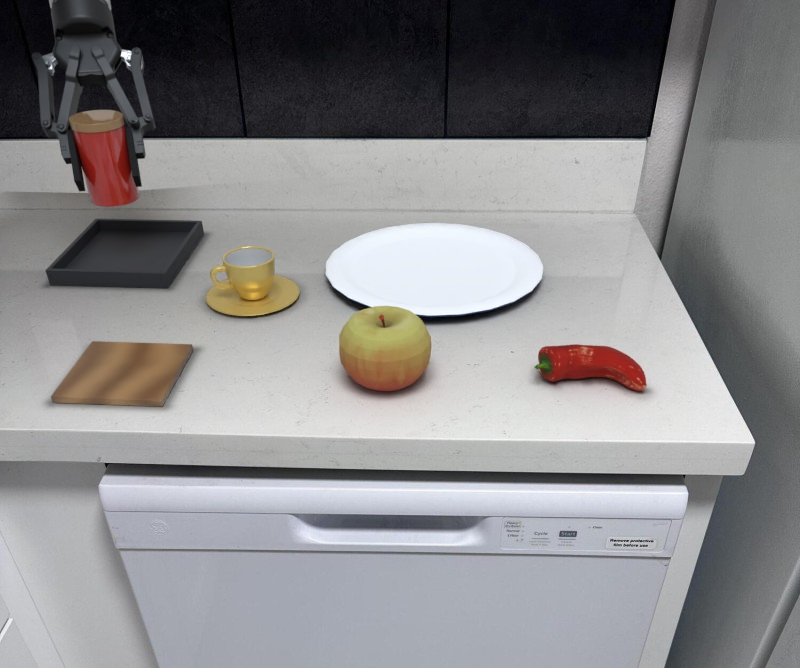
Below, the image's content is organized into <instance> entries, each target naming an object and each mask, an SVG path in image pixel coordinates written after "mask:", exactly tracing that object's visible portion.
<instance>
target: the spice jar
mask: <svg viewBox="0 0 800 668" xmlns="http://www.w3.org/2000/svg"><path fill="white" fill-rule="evenodd" d="M69 123H70V127H71V129H72V132H73V135H74V139H75V143H76V147H77V151H78V155H79V158H80V162H81V166H82V172H83V179H84V182H85V186H86V188H87V193H88V196H89V201H90V203H91V204H93V205H94V206H98V207H105V208H106V207H107V208H111V207H112V208H113V207H114V208H115V207H121V206H126V205H129V204H132V203H134V202H136V201H138V200H139V199H140V197H141V195H140V194H141V193H140V191H139V187H136V185H135V182H134V179H133V177H132V170H131V164H130V158H129V151H128V145H127V139H126V133H125V127H126V126H125V118H124V116H123V114H122V112H121V111H117V110H113V109H92V110H86V111H80V112H76V114H74V115H72V116H70V117H69Z"/></svg>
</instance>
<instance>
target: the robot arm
mask: <svg viewBox="0 0 800 668" xmlns="http://www.w3.org/2000/svg"><path fill="white" fill-rule="evenodd" d="M48 3H49V8H50V16H51V23H52V29H53V35H54V45H53V48H52V52H50V53H47V54H43V55H42V53H40V52H38V51H35V52H33V53H32V54H31V59H32V61H33V63H34V66H35V68H36V70H37V80H38V81H37V83H38V100H39V101H38V102H39V117H40V125H41V128H42V130H43V132H44V133H45V135H46V137H47V138H49V139H53V138H56V139H58V142H59V149H60V155H61V157H62V159H63V161H64V163H65V164H66V165H71V170H72V176H73V181H74V184H75V185H76V188H77V189H78V192H79V193H80V192H86V184H85V178H84V174H83V170H82V166H81V162H80V158H79V155H78V151H77V147H76V143H75V139H74V135H73V132H72V129H71V127H70V123H69V117H70V116H72V115H74V114H77V113H78V112H77V111H78V107H79V102H80V97H81V95H82V94H83V89H84V87H86V86H92V85H99V86H104V85H106V87H107V89H108V91H109V93H111V95H112V97H113V99H114V101H115V103H116V105H117V107H118V108H119V110H120V112H121V113H122V114H123V117H124V121H126V123H127V125H128V126H125V133H126V139H127V145H128V151H129V158H130V164H131V170H132V177H133V179H134V182H135V185H136V187H138V188H141V187H143V185H142V184H143V183H142V179H141V172H140V165H139V160H142V159H143V160H144V159H145V158H146V149H145V147H146V146H145V142H144V134H145V133H147V132H154V131H155V130H156V128H157V127H156V122H155V119H154V115H153V111H152V107H151V103H150V99H149V95H148V91H147V88H146V83H145V80H144V70H145V62H144V60H145V59H144V57H143V51H142V49H141V48H139V47H137V46H135V47H133V48H132V49H131V50H129V49H124V48H122V46H120V44H119V42H118V41H117V36H116V35H117V34H116V29H115V22H114V15H113V13H112V12H113V11H112V4H111V3H112V2H111V0H48ZM122 62H124V63H125V65H126V68H127V69H128V70H129V71H130V72H131V74H132V78H133V82H134V86H135V91H136V93H137V97H138V102H139V106H140V109H141V113H142V116H137V114H136V111H135V110H134V108H133V106H132V105H131V103H130V101H129V99H128V97H127V95H126V94H125V91H124V90H123V88H122V86H121V84H120V81H119V80H118V78H117V77H116V72H117V70H118V69H119V67H120V65H121V64H122ZM57 65H58V66H59V67H60V68H61V69H62V70H63V72H65V82H64V87H63V93H62V97H61V101H60V105H59V106H60V107H59V111H58V116H57V122H56V114H55V113H56V112H55V95H54V83H53V79H52V77H53V76H54V73H55V72H56V71H55V70H56V69H55V67H56V66H57Z"/></svg>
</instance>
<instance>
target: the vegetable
mask: <svg viewBox="0 0 800 668" xmlns="http://www.w3.org/2000/svg"><path fill="white" fill-rule="evenodd" d="M537 361H538V364H536V365H535V366H534V367H533V369H535V370H539V372H540V374H541V376H542V377H543V378H544V379H545V380H547V381H549V382H558V381H563V380H580V379H581V380H582V379H587V378H606V379H611V380H614V381H616V382H618V383H619V384H622V385H623V386H625V388H628V389H630V390H633V391H638V392H642V391H644V390H645V389H647V378H646V374H645V371H644V370H643V368H642V366H641V365H640V364H639V363H638V362H637V361H636V360H635V359H634V358H633V357H631V356H630V355H628V354H627V353H625V352H623V351H621V350H619V349H616V348H614V347H613V346H608V345H594V344H593V345H591V344H589V345H588V344H563V345H561V344H560V345H545V346H543V347H541V348H539V351H538V354H537Z"/></svg>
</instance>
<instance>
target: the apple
mask: <svg viewBox="0 0 800 668" xmlns="http://www.w3.org/2000/svg"><path fill="white" fill-rule="evenodd" d="M338 344H339V345H338V346H339V347H338V355H339V359H340V360H339V361H340V364H341V366H342V367H343V369H344V370H345V371H346V372H347V374H348V376H350V378H351V379H352V380H353V381H354V382H355V383H356V384H358V385H360V386H362V387H364V388H367V389H368V390H373V391H378V392H392V391H398V390H402V389H404V388H406V387H409V386H410V385H412V384H414V383H415V382H416V381H417V380H418V379H419V378H420V377H422V376H423V374H425V371H427V368H428V366H429V365H430V359H431V354H432V336H431V334H430V333H429V331H428V328H427V326H426V325H425V323H424V321H423V320H422V318H421V317H420V316H417V315H415V314H414V313H412V312H411V311H409V310H406V309H403V308H400V307H393V306H375V307H371V308H369V307H366V308H364V309H361V310H359V311H357V312H356V313H353V314H352V316H350V317H349V319H348V320H347V321H346V323H345V324H344V325H343V326H342V328H341V330H340V333H339V339H338Z"/></svg>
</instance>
